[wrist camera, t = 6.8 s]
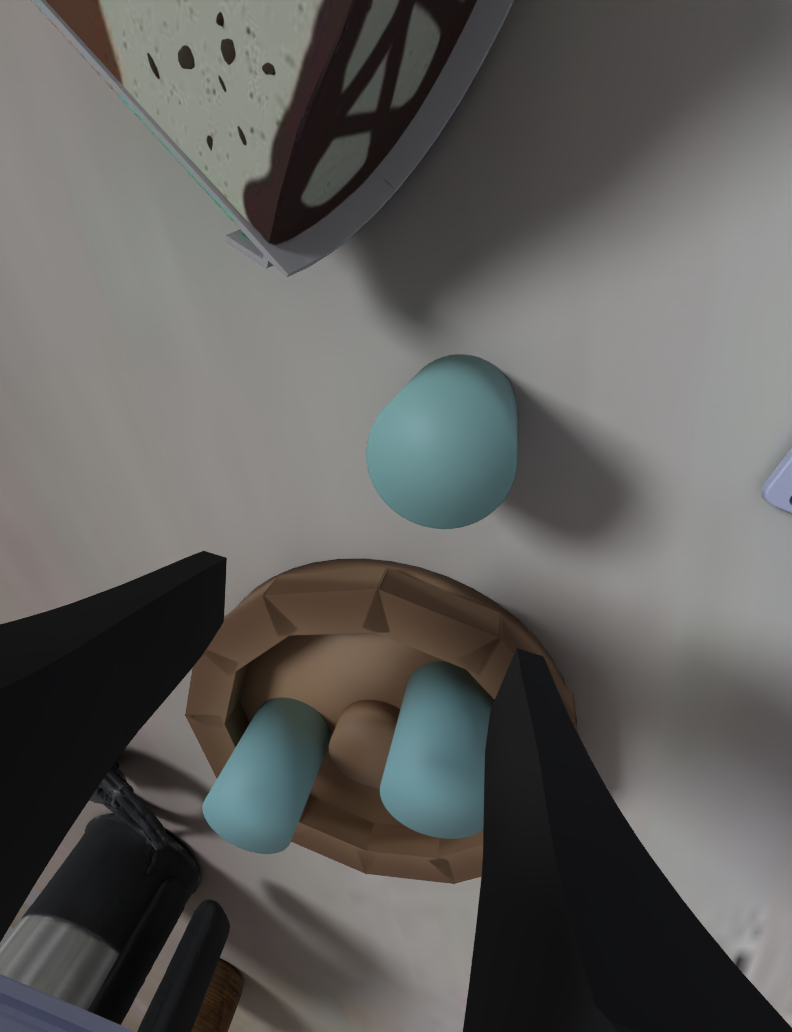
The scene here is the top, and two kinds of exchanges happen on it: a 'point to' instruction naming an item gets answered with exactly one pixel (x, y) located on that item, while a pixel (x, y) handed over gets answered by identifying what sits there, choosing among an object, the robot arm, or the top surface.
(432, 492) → the loose bead
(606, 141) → the top surface
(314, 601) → the groove tray
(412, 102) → the food container
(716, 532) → the top surface
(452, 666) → the seated bead
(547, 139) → the top surface
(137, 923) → the milk frother
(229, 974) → the brown bottle
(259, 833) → the bead
